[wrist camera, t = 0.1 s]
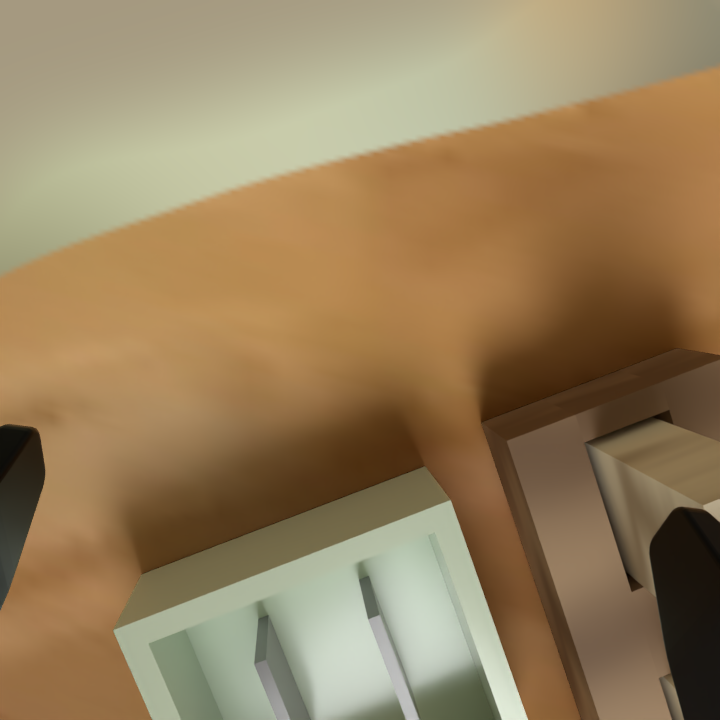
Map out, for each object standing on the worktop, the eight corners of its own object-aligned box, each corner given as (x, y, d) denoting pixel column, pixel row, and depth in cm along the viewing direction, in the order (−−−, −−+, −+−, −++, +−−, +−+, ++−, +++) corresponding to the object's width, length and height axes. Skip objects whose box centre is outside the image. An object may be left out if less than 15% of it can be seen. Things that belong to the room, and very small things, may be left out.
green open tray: (515, 721, 27) (554, 797, 23) (250, 829, 26) (243, 927, 22) (425, 466, 25) (450, 500, 21) (141, 574, 25) (113, 630, 21)
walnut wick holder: (786, 724, 28) (845, 777, 25) (608, 799, 28) (647, 861, 25) (677, 348, 26) (727, 356, 23) (481, 422, 25) (506, 440, 22)
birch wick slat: (656, 523, 26) (842, 645, 18) (597, 547, 26) (754, 682, 17) (620, 405, 26) (794, 469, 17) (559, 428, 26) (702, 505, 17)
